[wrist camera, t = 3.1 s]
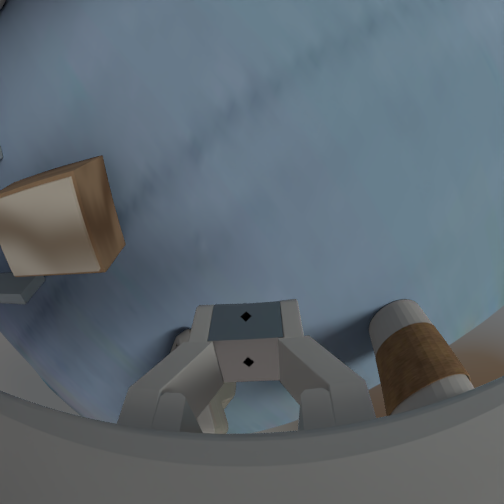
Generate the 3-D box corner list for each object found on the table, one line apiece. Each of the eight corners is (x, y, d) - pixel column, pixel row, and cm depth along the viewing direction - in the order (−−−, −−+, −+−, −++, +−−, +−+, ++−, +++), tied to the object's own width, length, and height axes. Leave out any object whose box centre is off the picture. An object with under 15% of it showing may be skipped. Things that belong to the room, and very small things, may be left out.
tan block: (21, 178, 19) (-18, 201, 14) (109, 151, 18) (71, 171, 14) (44, 247, 23) (13, 279, 18) (131, 236, 22) (103, 274, 17)
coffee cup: (339, 338, 27) (373, 479, 14) (395, 275, 24) (472, 421, 11) (392, 356, 29) (431, 470, 16) (443, 304, 26) (508, 419, 13)
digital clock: (187, 315, 26) (163, 417, 17) (267, 353, 29) (270, 448, 19) (135, 386, 33) (115, 456, 24) (196, 411, 35) (187, 479, 26)
